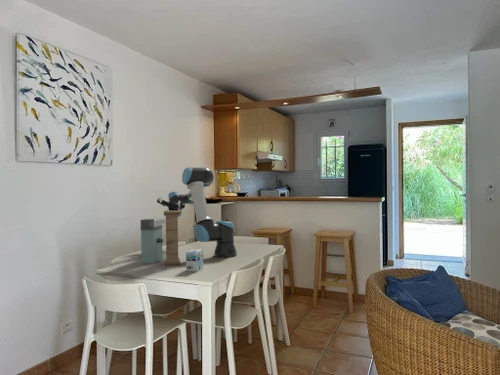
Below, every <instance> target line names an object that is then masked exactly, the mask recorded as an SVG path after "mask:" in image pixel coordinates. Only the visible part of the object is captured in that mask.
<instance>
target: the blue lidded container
mask: <svg viewBox="0 0 500 375" xmlns="http://www.w3.org/2000/svg"><path fill="white" fill-rule="evenodd" d="M163 226H164V224H161V225H157V226H154V227H152V228H141V227H140V229H139V230H140V241H141V243H140V246H141V248H140V249H141V250H140V251H141V252H140V253H141V254H140V255H141V263H142V264H155V263H157V262H159V261H161V260H163V243H164V238H163Z"/></svg>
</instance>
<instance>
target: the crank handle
mask: <svg viewBox="0 0 500 375" xmlns="http://www.w3.org/2000/svg"><path fill="white" fill-rule="evenodd" d="M164 224H165V225H166V218H165V219H164V218H160V219H156V220H155V219H154V218H143V219H140V228H152V227H154V226H157V225H164Z"/></svg>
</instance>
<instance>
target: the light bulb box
mask: <svg viewBox="0 0 500 375" xmlns="http://www.w3.org/2000/svg"><path fill="white" fill-rule="evenodd" d="M185 259H186V260H185V261H186V264H185V267H186V268H185V269H186V272H195V273H196V272H198V273H199V271H200V270H203V269H204V249H198V248H197V249H196V248H194V249H193V248H192V249H190V250H188V251H186V252H185Z"/></svg>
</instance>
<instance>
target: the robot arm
mask: <svg viewBox="0 0 500 375" xmlns="http://www.w3.org/2000/svg"><path fill="white" fill-rule="evenodd" d="M182 171H183V172H182V175H181V182H182V184H183V185H185V186H186V188H187V189H188V190H189V191H188V192H187V194H179V193H178V191H171V192H169V193H168V195H167V196H168V197H167V198H168V201H166V200H163V198H162V196H160V195H159V196H158V198H157V200H156V203H158V204H160V205H162V206H163V207H167V210H168V211H170V210H179V215H178V218H180V217H181V216H182V215H183V214H182V213H183V212H182V210H184V209H185V207H186V205H192V204H193V207H194V212H195V216H196V223H195V226H194V229H193V230H194V231H193V233H194V237H195V239H196V240H197V241H198V242H200V243H208V242H216V245H215V248H214V252H213V253H214V254H213V255H214V257H216V258H217V257H218V258H231V257H236V256H237V252H238V251H237V249H236V246H235V239H234V238H235V236H234V235H235V234H234V231H235V230H234V229H235V227H234V223H233V222H232V221H225V220H216V222H214V219H213V218H211V217H210V212H209V209H208V204H207V200H206V196H205V192H204V190H205V189H206V188H208V187H210V186H211V185H212V184H213V182H214V179H215V177H214V173H213V171H212V170H211V169H210V168H208V167H192V166H191V167H185V168H184V170H182Z"/></svg>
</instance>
